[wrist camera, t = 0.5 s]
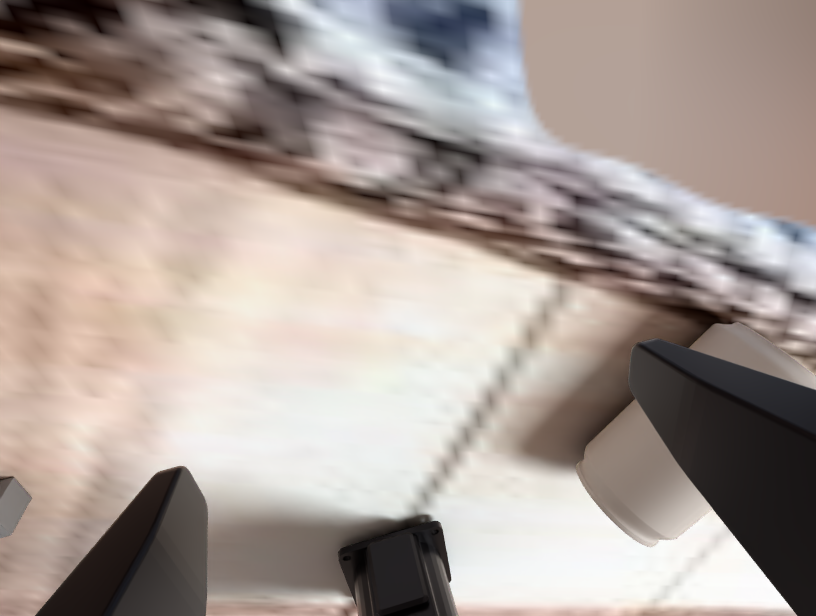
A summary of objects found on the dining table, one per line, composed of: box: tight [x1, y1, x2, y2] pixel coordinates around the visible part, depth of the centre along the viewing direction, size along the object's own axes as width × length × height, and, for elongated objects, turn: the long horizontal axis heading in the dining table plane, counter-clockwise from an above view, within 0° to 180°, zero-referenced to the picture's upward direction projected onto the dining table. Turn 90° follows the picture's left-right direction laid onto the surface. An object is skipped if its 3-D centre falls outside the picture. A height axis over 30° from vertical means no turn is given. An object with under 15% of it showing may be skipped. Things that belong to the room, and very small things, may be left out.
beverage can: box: [576, 322, 816, 547], centre depth 26 cm, size 6×6×12 cm
